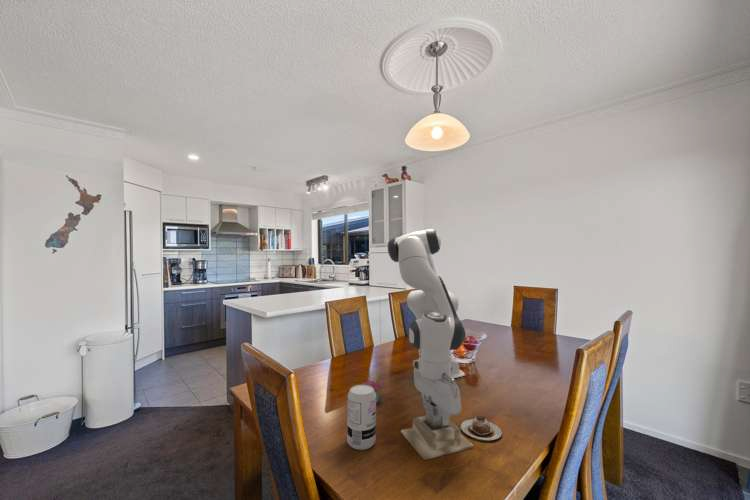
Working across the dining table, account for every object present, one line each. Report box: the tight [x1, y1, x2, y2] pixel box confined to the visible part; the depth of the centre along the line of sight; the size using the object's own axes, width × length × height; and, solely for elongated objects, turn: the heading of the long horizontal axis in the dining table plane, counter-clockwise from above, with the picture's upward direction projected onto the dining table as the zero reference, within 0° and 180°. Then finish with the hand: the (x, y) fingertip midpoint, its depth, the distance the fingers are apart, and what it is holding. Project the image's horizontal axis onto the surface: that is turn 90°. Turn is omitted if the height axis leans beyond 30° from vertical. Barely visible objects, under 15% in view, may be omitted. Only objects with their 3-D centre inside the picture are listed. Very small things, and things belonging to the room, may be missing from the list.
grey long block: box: [425, 396, 445, 431], centre depth 89 cm, size 4×4×12 cm
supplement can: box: [346, 384, 377, 451], centre depth 87 cm, size 8×8×15 cm
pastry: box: [460, 414, 502, 442], centre depth 94 cm, size 12×12×5 cm
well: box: [400, 415, 475, 461], centre depth 89 cm, size 16×14×5 cm
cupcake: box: [361, 370, 384, 403], centre depth 114 cm, size 9×8×12 cm
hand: (435, 416), depth 89 cm, fingers open, 8 cm apart
